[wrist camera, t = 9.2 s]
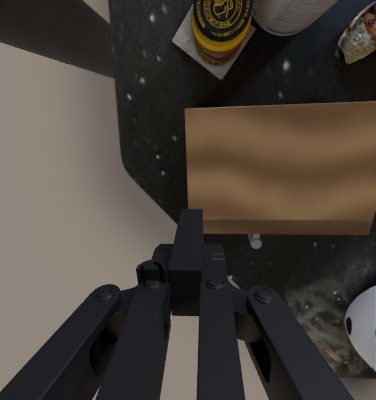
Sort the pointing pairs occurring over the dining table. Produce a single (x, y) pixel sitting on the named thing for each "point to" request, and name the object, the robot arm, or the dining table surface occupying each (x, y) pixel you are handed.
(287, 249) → the dining table surface
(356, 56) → the pastry
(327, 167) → the cabinet
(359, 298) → the doce de leite tub
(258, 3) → the supplement tub
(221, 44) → the condiment
